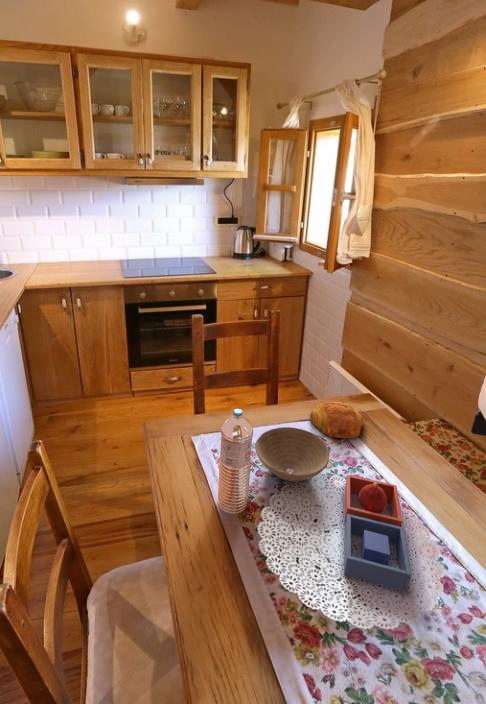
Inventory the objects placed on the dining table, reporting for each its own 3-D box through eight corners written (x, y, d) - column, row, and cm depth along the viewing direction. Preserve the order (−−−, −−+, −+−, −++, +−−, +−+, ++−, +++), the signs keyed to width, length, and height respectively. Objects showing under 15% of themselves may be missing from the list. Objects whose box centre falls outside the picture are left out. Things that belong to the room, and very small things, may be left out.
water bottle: (232, 490, 97) (237, 398, 89) (253, 506, 93) (261, 411, 84) (211, 504, 93) (214, 410, 84) (233, 522, 88) (239, 424, 80)
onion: (387, 523, 89) (394, 494, 86) (361, 522, 89) (367, 493, 86) (378, 502, 94) (384, 474, 91) (353, 501, 94) (358, 473, 91)
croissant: (309, 417, 131) (308, 395, 129) (359, 417, 129) (359, 394, 126) (313, 444, 118) (312, 420, 115) (369, 444, 115) (369, 419, 113)
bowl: (238, 473, 103) (239, 446, 100) (279, 441, 116) (282, 417, 113) (301, 513, 91) (304, 485, 88) (339, 473, 104) (344, 447, 101)
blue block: (384, 552, 82) (388, 535, 80) (385, 572, 78) (390, 554, 76) (360, 546, 83) (364, 529, 81) (361, 565, 79) (364, 548, 77)
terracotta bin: (392, 502, 95) (396, 485, 93) (398, 540, 85) (402, 521, 84) (344, 491, 98) (347, 474, 96) (343, 526, 88) (347, 508, 86)
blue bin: (398, 546, 84) (403, 527, 82) (405, 595, 74) (411, 575, 72) (343, 532, 87) (347, 513, 85) (343, 577, 77) (347, 557, 75)
